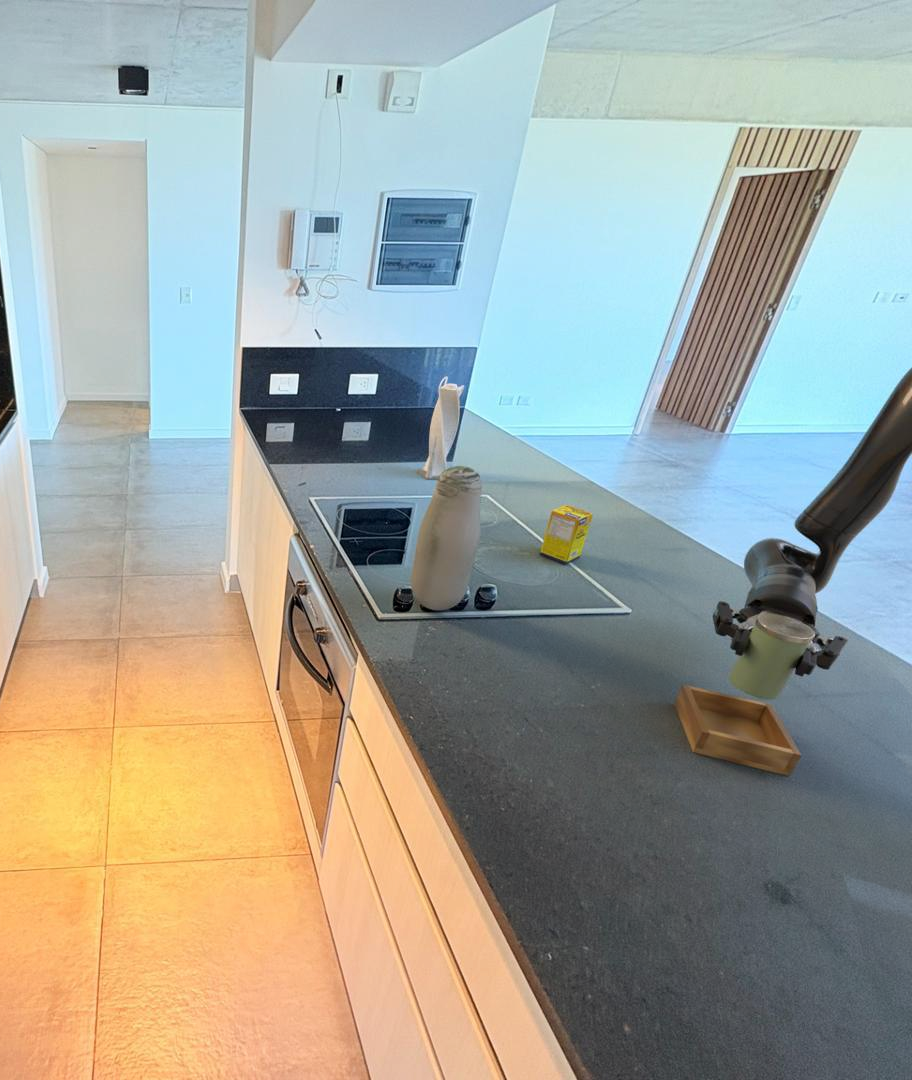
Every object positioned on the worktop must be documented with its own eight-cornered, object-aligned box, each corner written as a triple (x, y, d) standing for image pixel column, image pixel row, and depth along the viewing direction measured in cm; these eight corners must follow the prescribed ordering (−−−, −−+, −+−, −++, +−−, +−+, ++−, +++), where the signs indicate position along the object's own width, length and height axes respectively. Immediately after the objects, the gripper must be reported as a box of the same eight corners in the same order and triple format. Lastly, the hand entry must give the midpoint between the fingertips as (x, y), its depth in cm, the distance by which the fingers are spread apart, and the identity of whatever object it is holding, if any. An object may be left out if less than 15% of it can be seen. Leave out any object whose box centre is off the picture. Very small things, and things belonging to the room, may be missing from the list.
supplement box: (579, 558, 135) (594, 513, 130) (565, 565, 132) (580, 519, 127) (552, 548, 140) (566, 503, 135) (538, 555, 137) (551, 510, 132)
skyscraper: (414, 469, 186) (431, 376, 173) (440, 468, 186) (458, 375, 174) (427, 479, 178) (445, 382, 166) (453, 478, 179) (473, 381, 166)
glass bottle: (415, 586, 125) (440, 454, 112) (468, 602, 119) (501, 465, 107) (399, 607, 117) (424, 470, 105) (454, 625, 112) (488, 482, 100)
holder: (760, 723, 90) (771, 703, 88) (789, 776, 81) (802, 755, 79) (673, 703, 94) (682, 684, 92) (692, 752, 85) (702, 731, 83)
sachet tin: (753, 671, 86) (784, 611, 82) (791, 698, 81) (827, 636, 77) (716, 674, 86) (746, 614, 81) (753, 701, 81) (787, 640, 76)
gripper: (834, 648, 87) (832, 708, 76) (709, 609, 96) (691, 658, 85) (860, 603, 84) (862, 660, 73) (728, 567, 93) (712, 613, 82)
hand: (770, 659), depth 79 cm, fingers closed on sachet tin, 5 cm apart
